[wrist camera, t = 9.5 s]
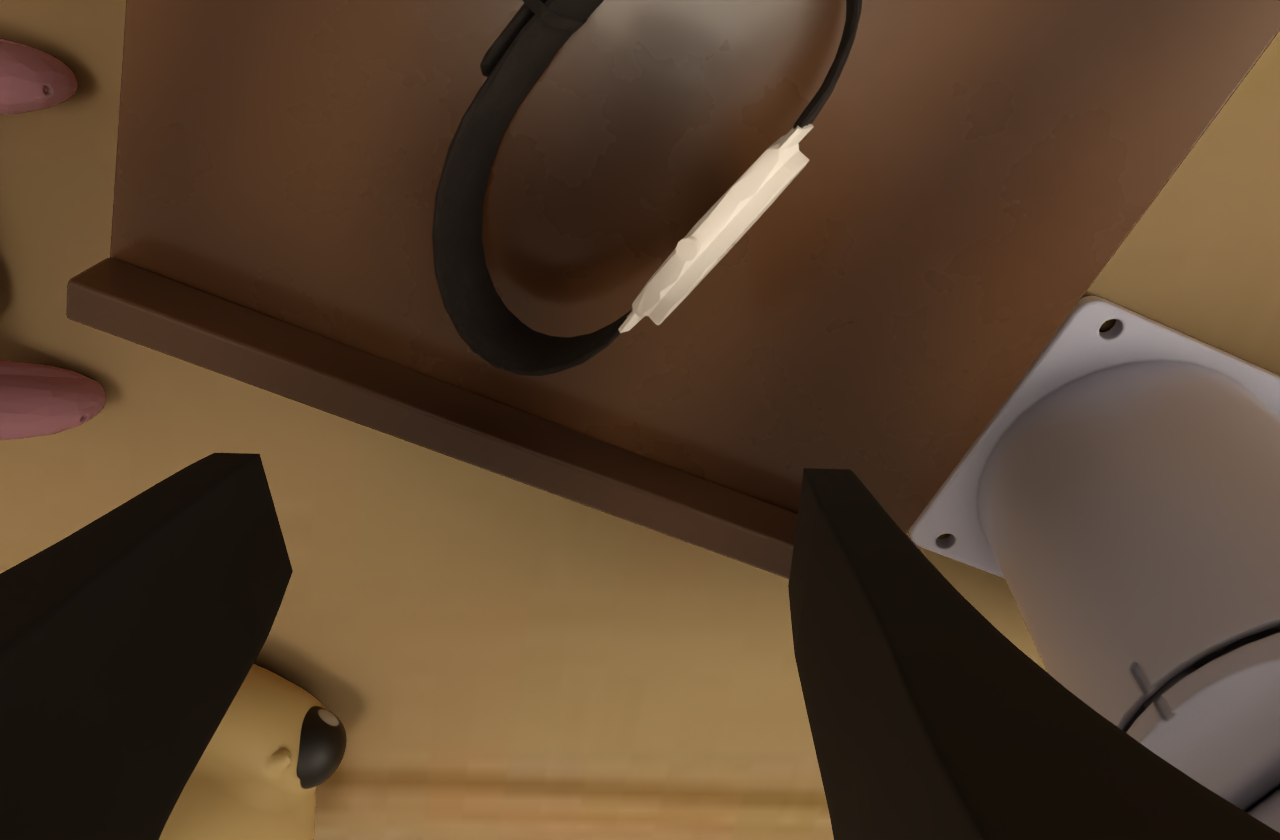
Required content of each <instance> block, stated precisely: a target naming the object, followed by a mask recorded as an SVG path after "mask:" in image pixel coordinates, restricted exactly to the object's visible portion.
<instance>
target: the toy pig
mask: <svg viewBox="0 0 1280 840" xmlns="http://www.w3.org/2000/svg"><path fill="white" fill-rule="evenodd" d="M345 748H346V732H345V729H344V726H343V724H342V723H341V721H340V720H339V719H338V718H337V717H336V716H335V715H334V714H333V713H332V712H330V711H328V710H327V709H326V708H325V707H324V706H323V705H322V703H321V702H320V701H318V700H317V699H316V698H315V697H314V696H312V695H311V694H310V693H308V692H307V691H305V690H304V689H302V688H301V687H299V686H297V685H295V684H294V683H292V682H290V681H288V680H286V679H284V678H282V677H281V676H279V675H277V674H275V673H273V672H271V671H269V670H267V669H265V668H262V667H260V666H258V665H256V664H253V665H252V667H251V669H250V671H249V672H248V674H247V676H246V678H245V680H244V682H243V683H242V685H241V687H240V689H239V691H238V692H237V694H236V696H235V698H234V700H233V701H232V703H231V705H230V707H229V708H228V710H227V712H226V714H225V716H224V717H223V719H222V721H221V723H220V724H219V726H218V728H217V730H216V732H215V733H214V735H213V737H212V739H211V741H210V742H209V744H208V746H207V748H206V749H205V751H204V753H203V755H202V757H201V758H200V760H199V762H198V764H197V765H196V767H195V769H194V771H193V773H192V774H191V776H190V778H189V780H188V782H187V783H186V785H185V787H184V789H183V791H182V793H181V795H180V797H179V799H178V801H177V802H176V804H175V806H174V808H173V810H172V812H171V814H170V816H169V818H168V820H167V822H166V824H165V826H164V829H163V831H162V833H161V836H160V838H159V840H314V833H315V809H316V787H317V786H318V785H320V784H321V783H323V782H324V781H326V780H327V779H328V778H329V777H330V776H331V775H332V774H333V773H334V772H335V770H336V769H337V767H338V766H339V764H340V762H341V760H342V758H343V755H344V752H345Z"/></svg>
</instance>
